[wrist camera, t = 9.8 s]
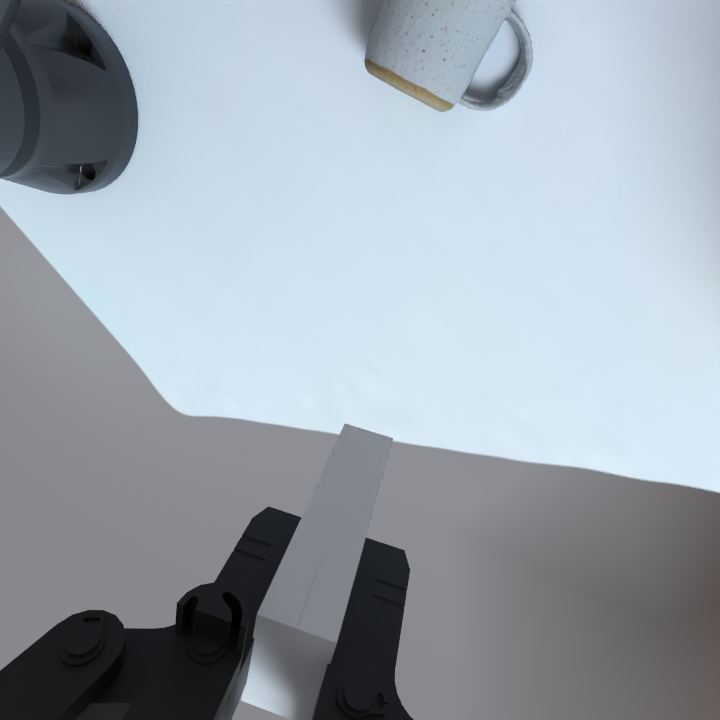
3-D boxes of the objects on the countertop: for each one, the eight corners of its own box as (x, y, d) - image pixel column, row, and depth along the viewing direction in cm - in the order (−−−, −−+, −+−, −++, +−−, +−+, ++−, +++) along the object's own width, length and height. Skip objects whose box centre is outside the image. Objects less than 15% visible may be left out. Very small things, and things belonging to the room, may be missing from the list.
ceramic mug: (367, 76, 37) (345, 62, 30) (417, -52, 33) (404, -101, 26) (492, 140, 37) (498, 140, 30) (556, 20, 33) (579, -11, 26)
